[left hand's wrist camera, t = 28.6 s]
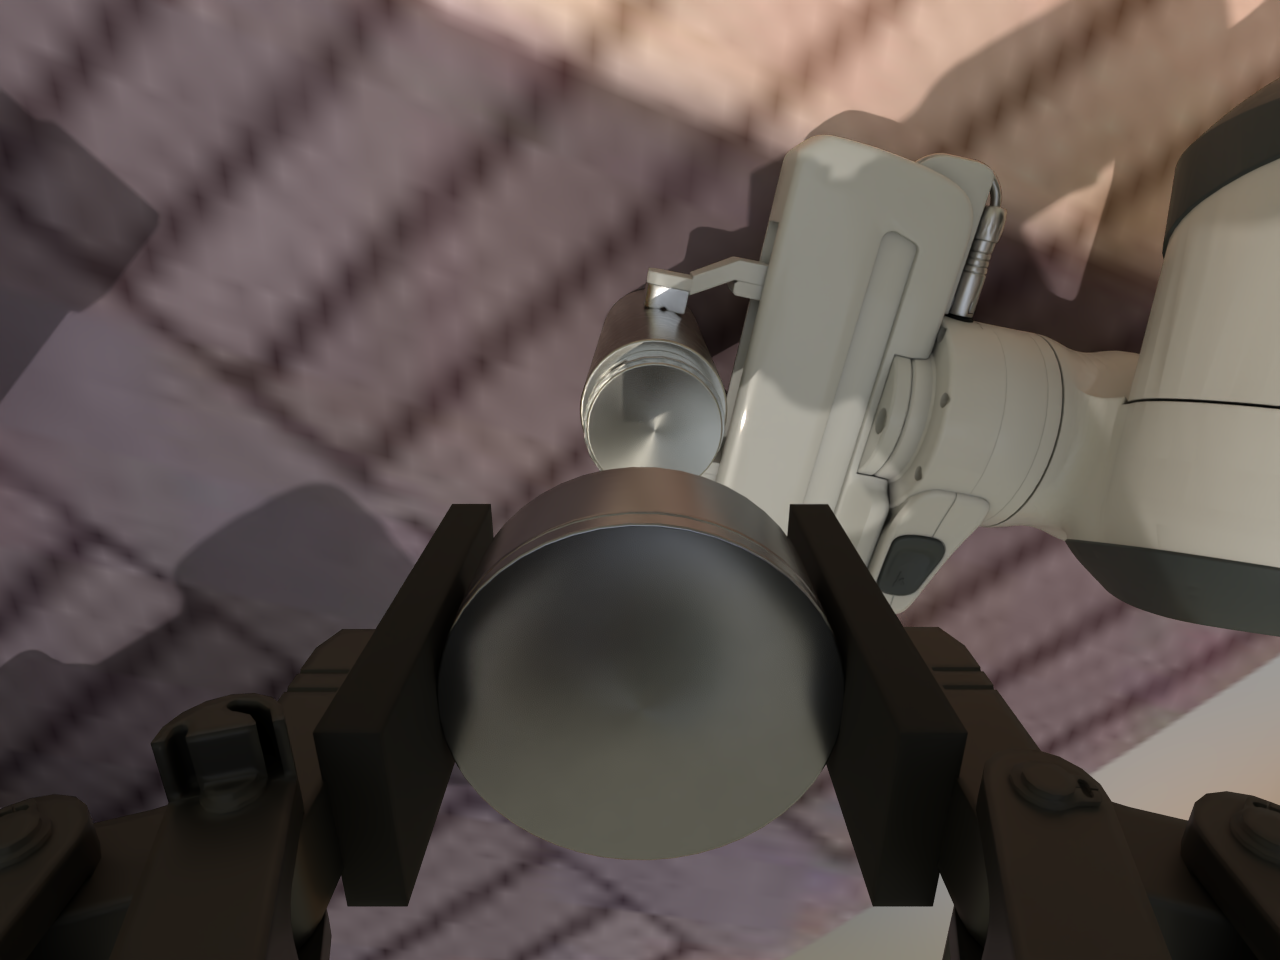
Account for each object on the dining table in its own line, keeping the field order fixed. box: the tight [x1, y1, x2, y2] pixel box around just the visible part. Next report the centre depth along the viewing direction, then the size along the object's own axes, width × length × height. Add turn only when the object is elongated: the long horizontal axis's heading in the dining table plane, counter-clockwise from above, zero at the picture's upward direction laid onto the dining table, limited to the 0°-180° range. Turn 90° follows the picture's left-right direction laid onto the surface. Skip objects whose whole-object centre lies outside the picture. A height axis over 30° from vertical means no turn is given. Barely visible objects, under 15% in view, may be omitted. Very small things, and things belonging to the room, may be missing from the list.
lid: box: [436, 467, 846, 860], centre depth 12 cm, size 6×6×2 cm
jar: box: [580, 289, 728, 476], centre depth 30 cm, size 5×5×16 cm
